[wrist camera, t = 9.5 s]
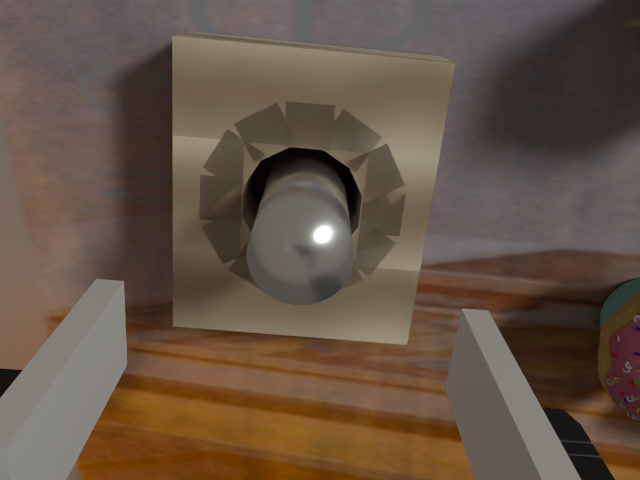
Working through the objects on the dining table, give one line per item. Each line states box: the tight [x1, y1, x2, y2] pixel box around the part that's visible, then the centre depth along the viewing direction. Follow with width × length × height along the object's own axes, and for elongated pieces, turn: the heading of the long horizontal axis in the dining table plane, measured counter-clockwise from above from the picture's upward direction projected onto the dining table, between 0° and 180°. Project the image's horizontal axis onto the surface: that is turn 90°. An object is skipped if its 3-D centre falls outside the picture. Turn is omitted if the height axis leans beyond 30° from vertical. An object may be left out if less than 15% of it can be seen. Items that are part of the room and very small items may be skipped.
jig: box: [172, 31, 456, 345], centre depth 29 cm, size 14×12×4 cm
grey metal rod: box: [247, 147, 354, 305], centre depth 26 cm, size 4×4×10 cm
